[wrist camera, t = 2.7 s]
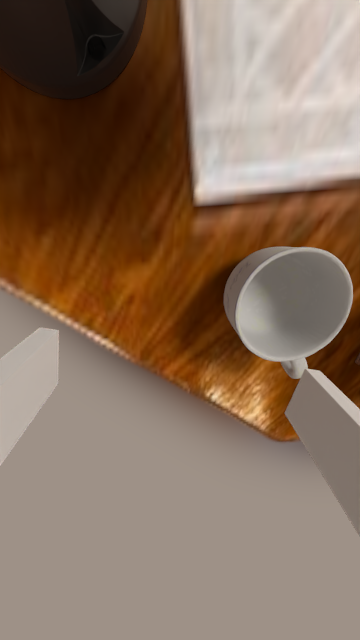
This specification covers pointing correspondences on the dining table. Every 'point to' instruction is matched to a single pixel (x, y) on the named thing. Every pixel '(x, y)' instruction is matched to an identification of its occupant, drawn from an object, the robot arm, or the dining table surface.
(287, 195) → the dining table surface
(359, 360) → the napkin dispenser
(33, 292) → the dining table surface
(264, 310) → the teacup
